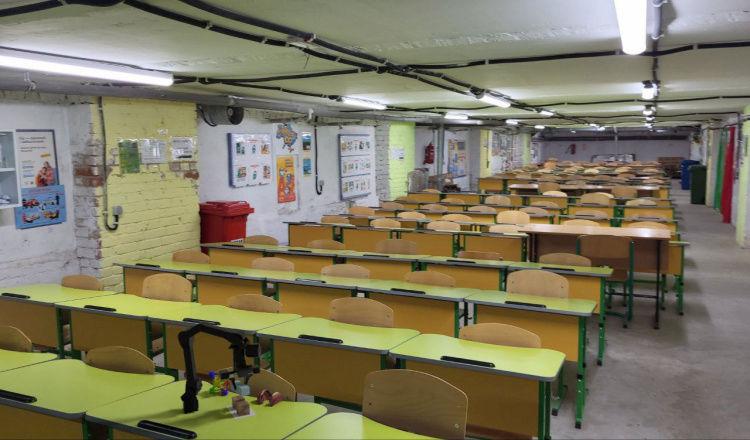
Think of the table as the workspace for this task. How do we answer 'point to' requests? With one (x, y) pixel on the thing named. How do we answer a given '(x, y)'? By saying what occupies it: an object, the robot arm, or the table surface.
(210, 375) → the molecular model
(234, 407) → the post
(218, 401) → the table surface
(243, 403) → the post
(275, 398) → the teeth model
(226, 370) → the robot arm
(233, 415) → the mat
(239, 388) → the light blue block
